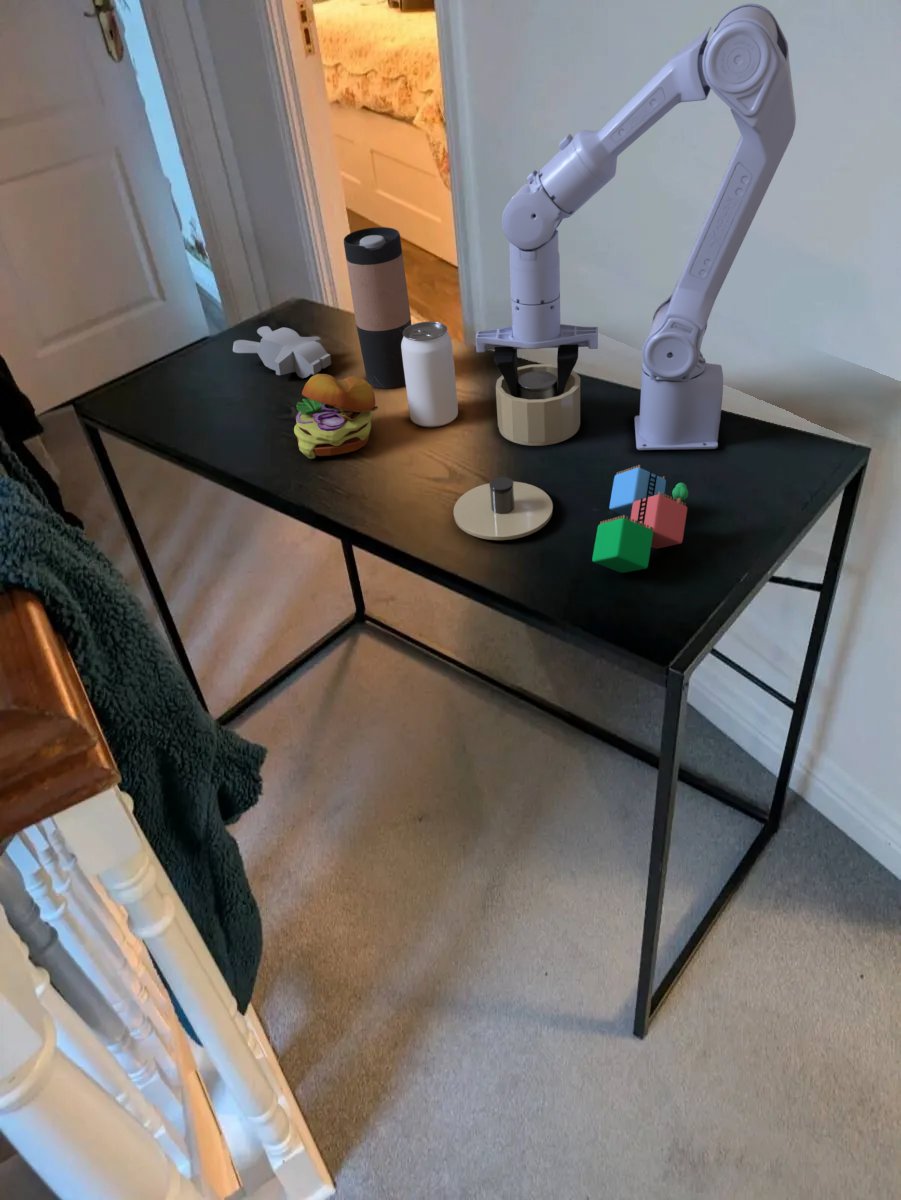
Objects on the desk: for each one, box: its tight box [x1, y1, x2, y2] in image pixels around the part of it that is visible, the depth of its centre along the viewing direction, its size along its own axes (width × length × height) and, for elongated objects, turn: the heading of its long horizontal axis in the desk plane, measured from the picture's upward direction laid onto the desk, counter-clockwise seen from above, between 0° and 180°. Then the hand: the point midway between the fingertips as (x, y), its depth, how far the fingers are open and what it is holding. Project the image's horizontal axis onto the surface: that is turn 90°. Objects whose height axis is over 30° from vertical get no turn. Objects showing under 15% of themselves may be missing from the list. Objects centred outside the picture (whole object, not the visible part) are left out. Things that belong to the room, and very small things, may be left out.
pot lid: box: [453, 476, 554, 541], centre depth 98 cm, size 11×11×4 cm
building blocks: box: [591, 464, 689, 574], centre depth 91 cm, size 8×8×12 cm
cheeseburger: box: [293, 373, 379, 460], centre depth 114 cm, size 10×11×10 cm
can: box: [401, 321, 459, 428], centre depth 115 cm, size 6×6×12 cm
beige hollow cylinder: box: [495, 363, 581, 447], centre depth 113 cm, size 10×10×6 cm
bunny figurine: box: [232, 325, 332, 379], centre depth 135 cm, size 10×5×15 cm
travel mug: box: [343, 226, 412, 390], centre depth 123 cm, size 8×8×20 cm
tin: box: [518, 371, 557, 400], centre depth 112 cm, size 5×5×4 cm
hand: (538, 402), depth 113 cm, fingers closed on tin, 5 cm apart
